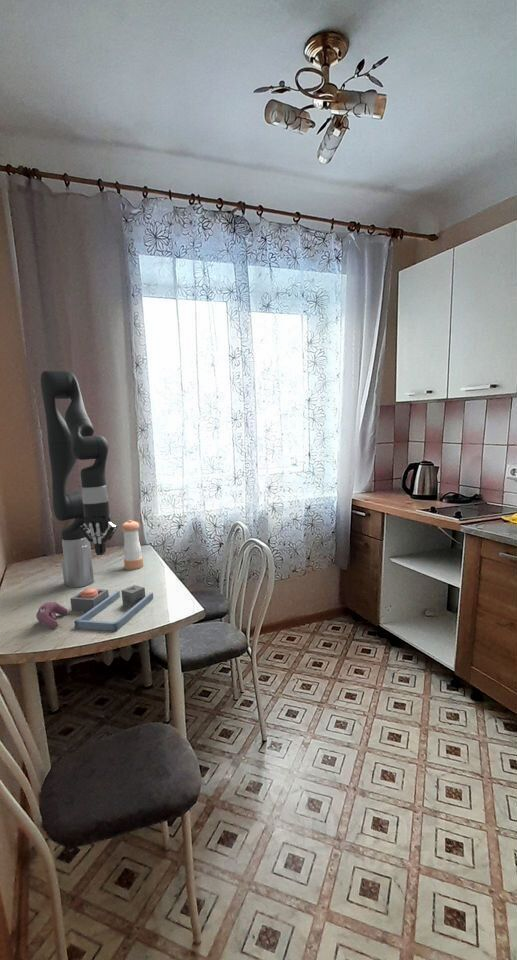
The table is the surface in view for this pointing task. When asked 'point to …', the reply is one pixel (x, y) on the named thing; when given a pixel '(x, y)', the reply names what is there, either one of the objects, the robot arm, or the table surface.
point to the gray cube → (132, 595)
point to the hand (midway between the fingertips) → (100, 554)
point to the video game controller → (50, 613)
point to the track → (113, 626)
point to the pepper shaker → (132, 546)
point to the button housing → (87, 601)
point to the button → (89, 593)
